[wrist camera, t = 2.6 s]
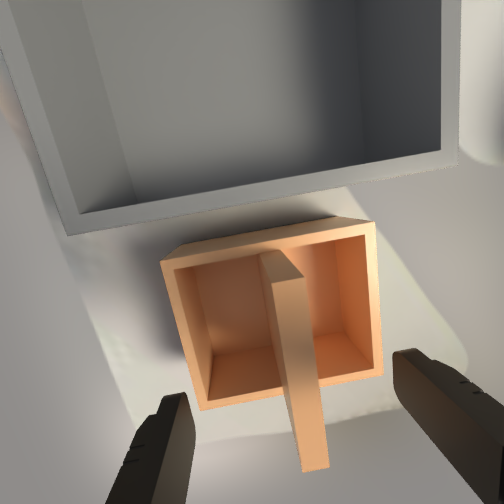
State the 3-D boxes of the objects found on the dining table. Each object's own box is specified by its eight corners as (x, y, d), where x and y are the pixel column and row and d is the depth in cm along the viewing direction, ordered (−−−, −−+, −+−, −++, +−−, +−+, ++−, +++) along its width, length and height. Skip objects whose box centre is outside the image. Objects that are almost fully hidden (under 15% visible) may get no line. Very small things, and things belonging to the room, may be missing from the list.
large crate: (355, -89, 14) (468, -368, 7) (371, 180, 17) (458, 166, 10) (60, -43, 14) (-120, -291, 7) (136, 222, 17) (67, 236, 10)
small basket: (337, 216, 18) (453, 232, 8) (347, 332, 20) (449, 453, 10) (181, 244, 17) (112, 296, 8) (209, 359, 20) (182, 508, 10)
